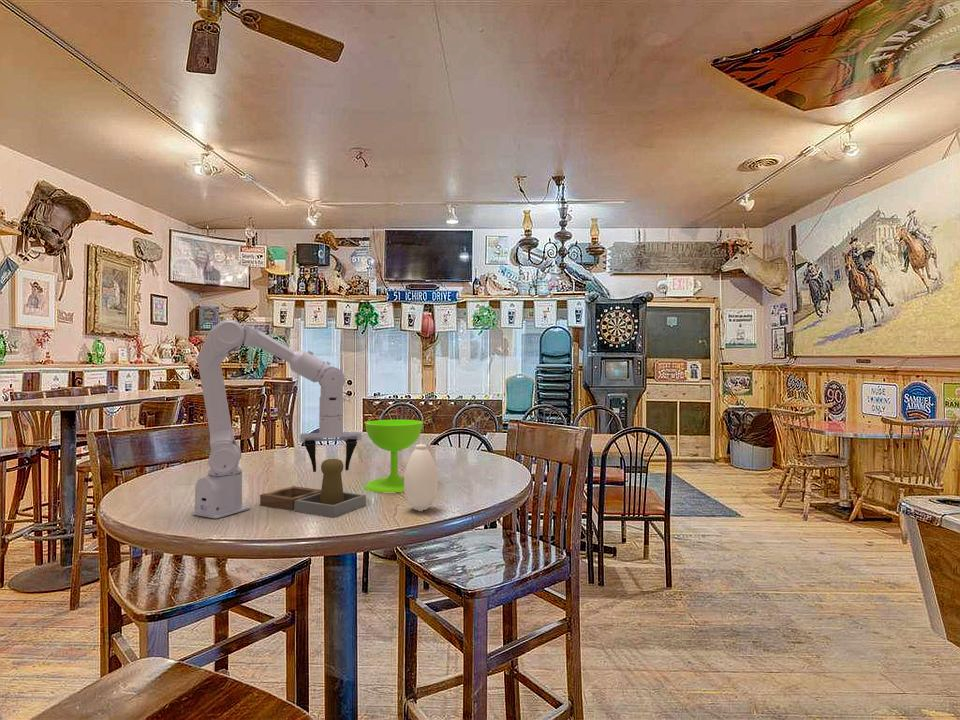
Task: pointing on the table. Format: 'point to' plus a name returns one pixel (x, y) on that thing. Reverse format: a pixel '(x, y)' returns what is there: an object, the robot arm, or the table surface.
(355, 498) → the tray
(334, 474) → the cork
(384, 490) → the wineglass
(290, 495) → the socket block
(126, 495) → the table surface
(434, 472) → the sauce bottle
